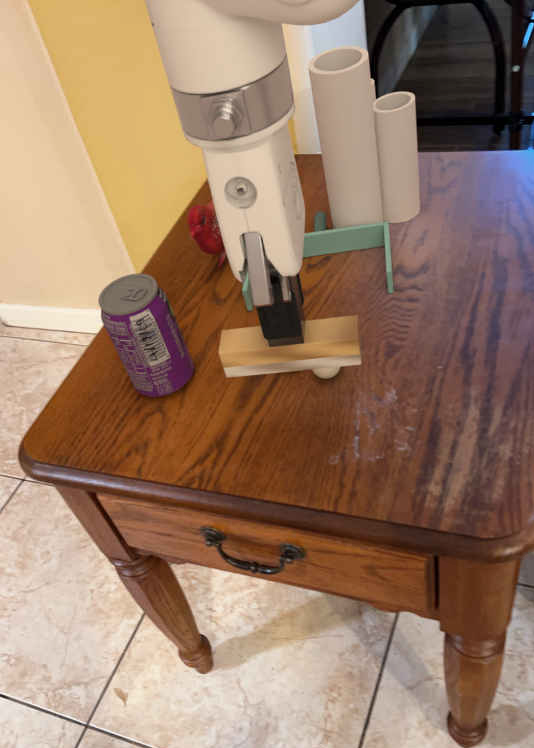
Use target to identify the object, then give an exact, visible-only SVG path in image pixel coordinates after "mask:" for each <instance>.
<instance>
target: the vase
mask: <svg viewBox="0 0 534 748" xmlns="http://www.w3.org/2000/svg"><path fill="white" fill-rule="evenodd" d="M369 57H370V56H369V51H368V50H367V49H366V48H364V47H361V46H357V45H344V46H337V47H333V48H329V49H326V50H324V51H322V52H320V53H318V54H316V55H314V56H313V57H312V58H310V60H309V62H308V63H307V69H308V75H309V83H310V89H311V94H312V102H313V106H314V109H313V110H314V114H315V122H316V127H317V134H318V139H319V146H320V152H321V159H322V166H323V172H324V178H325V185H326V191H327V198H328V205H329V209H330V210H329V211H330V217H331V218H330V219H331V223H332V229H338V228H345V227H352V226H359V225H365V224H372V223H379V222H386V221H389V224H402V223H406V222H408V221H412V220H413V219H414V218H416V217H417V216H418V215H419V214H420V212H421V198H420V197H421V196H420V176H419V175H420V173H419V153H418V131H417V109H416V96H415V94H414V93H413V92H409V91H395V92H391V93H387V94H383V95H382V96H380V97H378V98H377V95H376V85H375V80H374V78H371V69H370V68H371V67H370V58H369Z"/></svg>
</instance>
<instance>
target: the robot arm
mask: <svg viewBox="0 0 534 748" xmlns="http://www.w3.org/2000/svg"><path fill="white" fill-rule="evenodd" d="M359 2H360V0H144V3H145V7H146V11H147V14H148V17H149V21H150V24H151V27H152V30H153V34H154V37H155V41H156V44H157V48H158V51H159V54H160V58H161V62H162V65H163V68H164V71H165V76H166V79H167V82H168V85H169V89H170V92H171V95H172V99H173V102H174V105H175V109H176V112H177V117H178V119H179V123H180V127H181V129H182V134H183V136H184V138H185V140H186V141H187V143H189V144H192V146H195V147H198V148H201V152H202V158H203V163H204V167H205V172H206V176H207V177H206V179H207V183H208V185H209V186H208V187H209V189H210V195H211V198H212V200H213V203H214V207H215V212H216V216H217V220H218V224H219V228H220V232H221V235H222V239H223V243H224V247H225V250H226V254H227V255H226V257H227V260H228V263H229V267H230V269H231V272H232V274H233V277H234V278H235V279H236V280H237V281H239V282H240V283H242V284H243V282H244V281H245V279H246V275H247V272H248V276H249V281H250V285H251V289H252V295H253V302H254V303H253V307H254V308H255V309H256V313H257V317H258V321H259V326H261V329H262V333H263V336H264V338H265V339H267V340H272V339H282V338H291V337H299V336H301V335H302V325H301V320H300V315H299V310H298V305H297V300H296V296H295V293H291V291H290V285H289V280H288V276H297V281H298V286H299V291H300V296H301V301H302V306H304V304H305V297H304V292H303V286H302V282H301V276H300V272H301V271H300V270H301V269H302V266H303V259H304V257H303V245H304V233H305V231H306V230H305V228H306V227H305V226H306V206H305V199H304V194H303V190H302V185H301V181H300V176H299V172H298V171H299V170H298V167H297V162H296V158H295V152H294V147H293V143H292V139H291V133H290V129H289V125H288V123H289V122H290V120H292V118H293V117H294V115H295V114H296V113H295V112H296V103H295V96H294V95H295V94H294V89H293V83H292V77H291V71H290V65H289V58H288V54H287V48H286V42H285V36H284V35H285V34H284V29H283V24H284V25H291V26H292V25H293V26H316V25H322V24H326V23H329V22H331V21H334V20H337V19H339V18H340V17H342V16H343V15H344V14H346V13H348V12H349V11H350V10H352V9H353V8H354V7H355V6H356V4H358V3H359ZM268 261H270V262H268ZM276 275H278V278H279V283H280V285H279V284H278V283H273V284H271V282H270V276H276Z"/></svg>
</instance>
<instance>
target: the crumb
mask: <svg viewBox="0 0 534 748" xmlns="http://www.w3.org/2000/svg"><path fill="white" fill-rule="evenodd" d="M340 370H341V367H331V368H321V369H311V371H312V373H313V374H314V375H315V376H316V377H318V378H320V379H327V380H328V379H331V378H334V377H335V376H336V375H337V374H338V373H339V372H340Z"/></svg>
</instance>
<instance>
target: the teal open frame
mask: <svg viewBox="0 0 534 748" xmlns="http://www.w3.org/2000/svg"><path fill="white" fill-rule="evenodd" d="M327 218H328V217H327V214H326V213H325V212H324V211H322V210H321V211H320V210H319V211H317V212H315V214H314V215H313V231H312V232H304V245H303V258H310V257H316V256H317V257H318V256H324V255H330V254H339V253H345V252H353V251H360V250H366V249H375V248H380V247H381V248H382V247H384V256H385V270H386V271H385V273H386V283H387V293H388V294H394V292H395V291H394V281H393V280H394V278H393V263H392V262H393V261H392V246H391V235H390V233H391V231H390V223H389V221H386V222H385V221H384V222H379V223H372V224H365V225H359V226H352V227H345V228H338V229H333V228H332V229H327ZM241 292H242V295H243V299H244V302H245V307H246V309H247V311H248V312H252V311H253V309H254V302H253V295H252V289H251V285H250V281H249V276H248V272H247V275H246V279H245V281H244V282H243V283H242V288H241Z"/></svg>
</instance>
